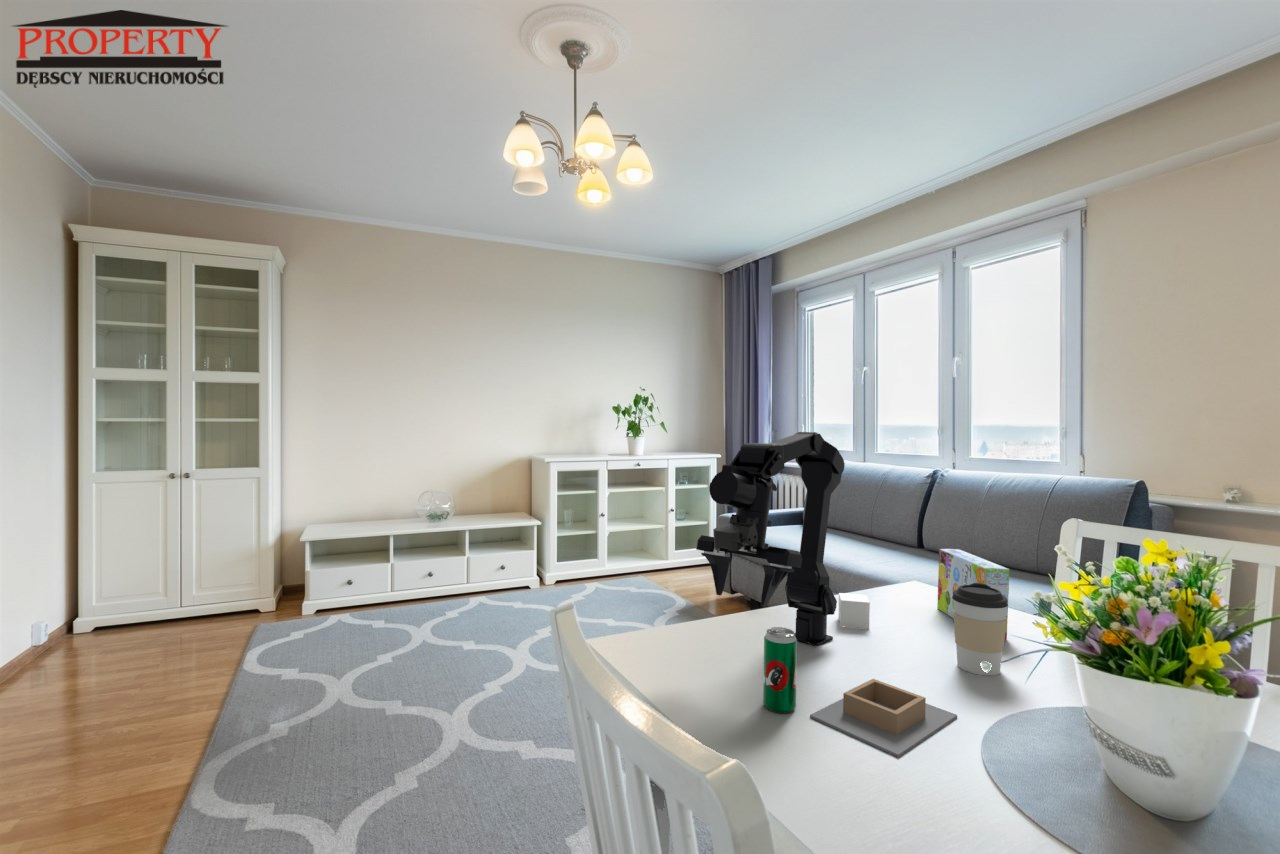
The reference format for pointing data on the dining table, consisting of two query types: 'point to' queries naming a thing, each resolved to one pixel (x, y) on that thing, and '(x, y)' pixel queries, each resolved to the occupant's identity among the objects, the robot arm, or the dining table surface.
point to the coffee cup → (979, 627)
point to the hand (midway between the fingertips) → (740, 600)
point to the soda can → (780, 670)
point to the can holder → (884, 717)
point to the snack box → (967, 577)
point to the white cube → (854, 610)
